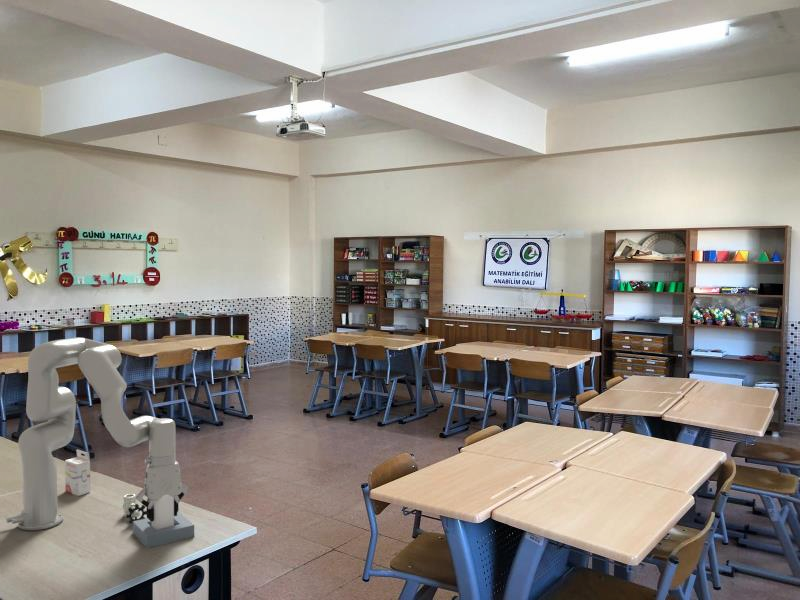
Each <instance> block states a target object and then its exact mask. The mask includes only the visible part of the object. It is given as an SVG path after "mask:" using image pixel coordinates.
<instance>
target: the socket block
mask: <svg viewBox="0 0 800 600" xmlns="http://www.w3.org/2000/svg"><path fill="white" fill-rule="evenodd" d="M132 533H133V534H134V535H135V537H136V538H138V540H139V541H140V542H141V544H143V545H144V546H145V547H146V548H147V549H150V548H153V547H154V548H155V547H156V546H158V547H159V546H161V545H165V544H168V543H169V544H170V543H174V542H177V541H181V540H184V539H190V538H193V537H195V524H194V523H193V522H191V521H190V520H189V519H188V518H187V517H185V515H183V514H182V513H181V512H180V511H178V512H177V516H174V526H170V527H166V528H162V529H158V530H154V529H153V528H152V523H151V521H150V520H149V519H148V518H147V517H145V519H141V520H137V521H133V522H132Z"/></svg>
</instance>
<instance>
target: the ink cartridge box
mask: <svg viewBox="0 0 800 600" xmlns="http://www.w3.org/2000/svg"><path fill="white" fill-rule="evenodd" d="M75 451H76V457H72V458H70V459H69V458H68V459H65V460H64V465H65V466H64V468H65V469H64V470H65V471H64V472H65V473H64V474H65V478H64V480H65V488H64V489H65V492H66V493H69V494H71V495H74V496H77V497H79V496H82V495H86V494H89V493H91V460H90V453H89V452H87V451H84V450H80V449H76V450H75ZM82 454H83V455H82Z"/></svg>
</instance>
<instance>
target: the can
mask: <svg viewBox="0 0 800 600" xmlns="http://www.w3.org/2000/svg"><path fill="white" fill-rule="evenodd" d="M152 508H153V509H154V521H152V522H151V523H152V528H153V529H154V530H158V529H162V528H166V527H170V526H174V496H173V497H172V496H170V495H164V496H163V497H162V498H161V499H158V500H154V503H153V506H152Z"/></svg>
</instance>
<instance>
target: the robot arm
mask: <svg viewBox="0 0 800 600" xmlns="http://www.w3.org/2000/svg"><path fill="white" fill-rule="evenodd" d="M72 365H78V368H79V370H81V372H82V374H83V375H84V377H85V379H86V380H87V381H88V382H89V384H90V386H92V389H93V390H94V391H95V393H96V394H97V396H98V398H99V399H100V402H101V403H100V408H101V409H100V411H101V418H102V421H103V424H104V426H105V428H106V430H107V431H108V432H109V434H110V435H111V437H112V438H113V440H114V441H115V442H116V443H117V444H119V445H120V446H122V447H124V448H131V447H135V446H137V445H139V444H141V443H143V442H147V441H149V445H148V446H149V448H148V451H149V455H148V457H146V458H144V464H147V466H146V470H145V476H144V487H143V488H142V489H141V490H140V492H139V493H138V494H136V500H137V501H138V502H139V503H141V504H142V505H144V506H145V508H146V511H147V515H146V518H148V519H149V520H150V521H151V522H152V521H154V509H153V508H152V506H153V503H154V500H158V499H161V498H162V497H163V496H164V495H170V496H172V497H173V496H174V516H177V512H179V503H180V501H181V500H182V499H183V497H184V496H185V494H186V493H187V492H188V491H189V487H188V486H187V485H186V484H184V483H183V482H182V477H181V470H180V464H179V462H178V461H177V460H176V422H175V420H173V419H172V418H168V417H167V418H166V417H165V418H158V417H155V416H151V415H140V416H138V417H135V418H133V419H129V418H128V416H127V415H126V413H125V412H124V409H123V407H122V406H123V405H122V396H123V395H124V392H125V391H126V390H127V387H128V384H127V382H126V381H125V379H124V378H123V376H122V375H121V373H120V372H119V371H118V368H119V366H120V365H122V354H121V352H120V351H119V349H118V348H117V347H116V346H114V345H112V344H109V343H105V342H102V341H98V340H93V339H90V338H85V337H70V338H65V339H62V338H61V339H55V340H51V341H46V342H43V343H39V345H37V346H35V347H34V348H33V349H32V350H31V352H30V353H29V356H28V359H27V370H28V373H27V374H28V378H27V379H28V381H27V391H26V393H27V394H26V407H25V412H26V415H27V418H28V419H29V420H31V421H33V422H35V423H37V422H38V423H39V424H35V425H33V426H30V427H28V428H27V429H25V430H24V431H23V432H22V433H21V434H20V435H19V438H18V442H17V443H18V444H17V445H18V450H19V453H20V454H19V455H20V457H21V466H22V495H23V496H22V500H23V502H22V503H23V507H22V508H23V509H21V510H20V512H19V513H17V514H15V515H13V514H12V515H8V516H6V517H5V520H6V524H9V523H12V524H17V528H19V529H20V530H21V531H22V530H23V531H40V530H45V529H49V528H53V527H55V526H58V525H59V524H61V523H62V522H63V521H64V515H63V514H62V513H59V511H58V469H57V462H56V460H55V458H54V456H53V454H52V452H54V451H56V450H58V449H60V448H64V447H65V446H67V445H68V444H70V443H71V441H72V440H73V438H74V434H75V425H76V413H77V412H76V411H77V400H76V396H75V394H74V392H73V391H72V390H71V389H69V388H68V387H65V386H59V382H60V378H59V374H58V371H57V368H62V367H68V366H72ZM41 422H42V423H41ZM144 496H145V497H147V498H146V500H145V499H144V498H143V497H144Z"/></svg>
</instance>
